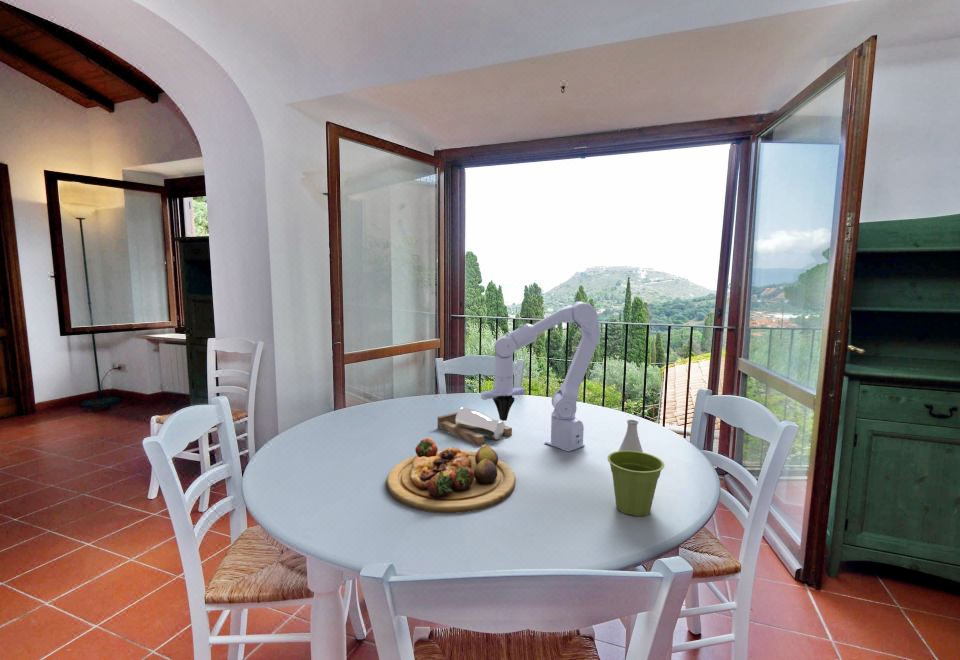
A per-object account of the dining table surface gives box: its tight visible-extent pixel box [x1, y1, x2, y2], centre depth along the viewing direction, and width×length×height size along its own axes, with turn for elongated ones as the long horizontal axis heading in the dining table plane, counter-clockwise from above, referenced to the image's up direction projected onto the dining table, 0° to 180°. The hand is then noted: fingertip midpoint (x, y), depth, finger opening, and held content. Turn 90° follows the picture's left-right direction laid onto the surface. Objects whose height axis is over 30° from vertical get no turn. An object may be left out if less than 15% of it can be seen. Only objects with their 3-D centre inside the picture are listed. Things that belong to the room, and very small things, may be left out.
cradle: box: [437, 411, 513, 446], centre depth 154 cm, size 21×14×4 cm
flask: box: [618, 419, 644, 453], centre depth 135 cm, size 7×7×10 cm
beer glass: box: [455, 406, 506, 441], centre depth 150 cm, size 7×7×15 cm
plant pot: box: [607, 450, 665, 517], centre depth 103 cm, size 12×12×11 cm
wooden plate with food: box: [386, 437, 516, 514], centre depth 116 cm, size 32×32×8 cm
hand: (503, 419), depth 143 cm, fingers closed
